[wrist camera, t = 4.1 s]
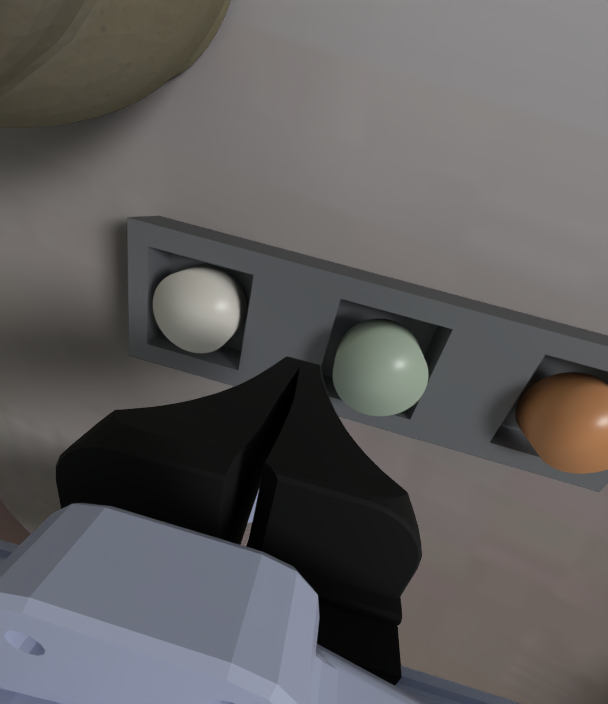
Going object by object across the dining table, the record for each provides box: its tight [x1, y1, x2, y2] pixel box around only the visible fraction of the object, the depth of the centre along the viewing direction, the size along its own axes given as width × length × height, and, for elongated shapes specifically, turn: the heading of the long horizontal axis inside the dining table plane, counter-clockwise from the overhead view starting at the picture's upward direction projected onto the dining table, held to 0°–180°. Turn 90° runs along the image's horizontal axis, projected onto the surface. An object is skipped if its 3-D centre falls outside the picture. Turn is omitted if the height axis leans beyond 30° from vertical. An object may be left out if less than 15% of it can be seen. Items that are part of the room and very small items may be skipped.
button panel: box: [127, 216, 608, 492], centre depth 16 cm, size 25×7×2 cm, turn 77°
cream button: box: [153, 264, 247, 353], centre depth 16 cm, size 4×4×2 cm
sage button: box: [333, 318, 428, 416], centre depth 15 cm, size 4×4×2 cm
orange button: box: [515, 372, 608, 474], centre depth 14 cm, size 4×4×2 cm
